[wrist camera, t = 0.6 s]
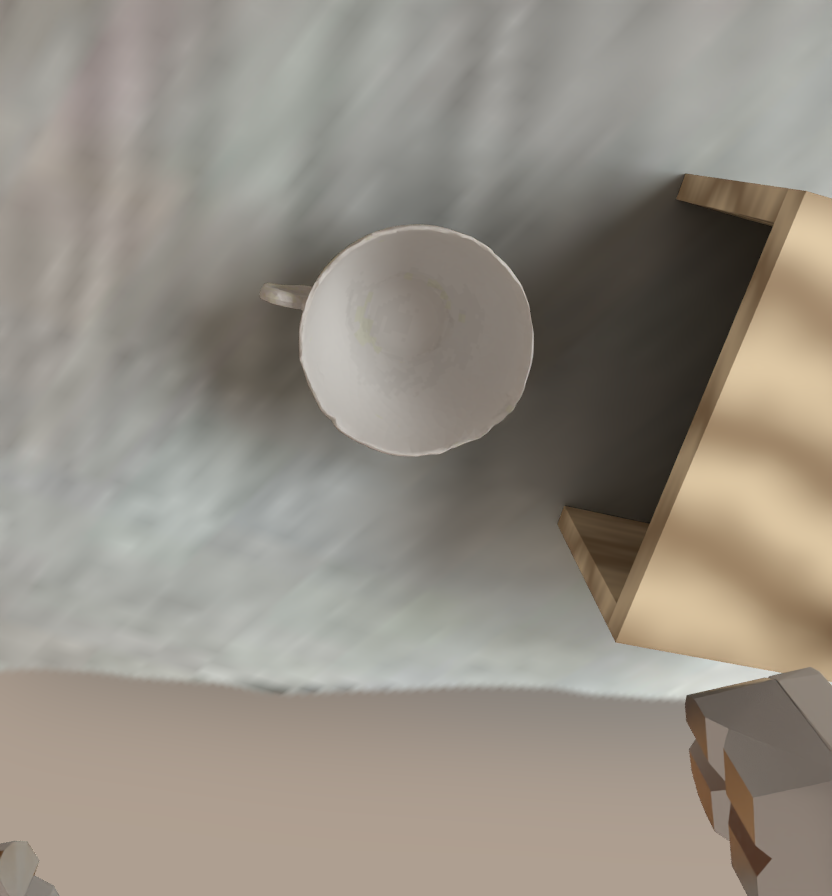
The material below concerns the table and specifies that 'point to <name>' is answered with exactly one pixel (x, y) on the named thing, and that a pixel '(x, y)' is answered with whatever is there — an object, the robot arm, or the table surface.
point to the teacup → (413, 339)
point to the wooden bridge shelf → (740, 471)
